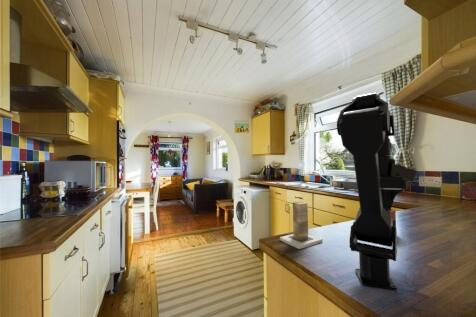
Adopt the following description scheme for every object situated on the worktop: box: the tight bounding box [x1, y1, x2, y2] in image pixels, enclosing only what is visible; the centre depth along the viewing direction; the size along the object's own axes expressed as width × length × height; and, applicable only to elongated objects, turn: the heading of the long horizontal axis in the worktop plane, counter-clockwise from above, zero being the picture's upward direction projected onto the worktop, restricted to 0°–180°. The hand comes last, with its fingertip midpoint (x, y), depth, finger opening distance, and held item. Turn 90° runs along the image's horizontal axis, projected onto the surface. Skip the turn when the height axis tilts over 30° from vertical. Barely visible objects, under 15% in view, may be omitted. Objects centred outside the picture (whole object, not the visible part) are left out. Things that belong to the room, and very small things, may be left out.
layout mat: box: [279, 233, 324, 250], centre depth 70 cm, size 11×9×1 cm
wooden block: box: [292, 201, 309, 240], centre depth 70 cm, size 4×4×12 cm
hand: (380, 210), depth 58 cm, fingers open, 9 cm apart
